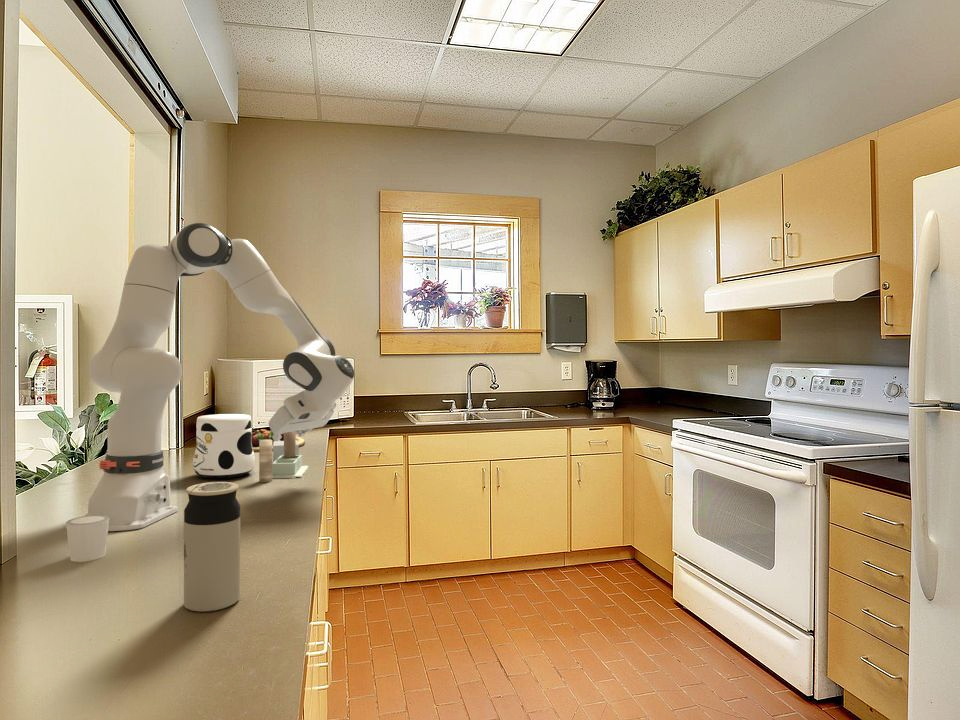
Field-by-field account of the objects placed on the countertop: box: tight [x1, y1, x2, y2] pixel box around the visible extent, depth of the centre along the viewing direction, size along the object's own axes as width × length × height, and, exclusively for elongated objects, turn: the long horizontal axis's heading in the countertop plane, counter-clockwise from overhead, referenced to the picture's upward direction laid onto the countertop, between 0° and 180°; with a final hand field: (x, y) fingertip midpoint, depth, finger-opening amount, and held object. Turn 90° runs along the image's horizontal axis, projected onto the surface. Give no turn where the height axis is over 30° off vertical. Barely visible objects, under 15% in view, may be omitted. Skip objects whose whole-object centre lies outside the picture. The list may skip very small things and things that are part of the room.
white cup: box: [65, 515, 109, 563], centre depth 116 cm, size 7×7×7 cm
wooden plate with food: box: [251, 429, 306, 453], centre depth 247 cm, size 32×32×8 cm
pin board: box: [272, 431, 310, 479], centre depth 195 cm, size 16×11×13 cm
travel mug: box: [183, 481, 241, 613], centre depth 96 cm, size 8×8×18 cm
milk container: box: [192, 413, 256, 479], centre depth 189 cm, size 17×17×18 cm
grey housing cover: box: [272, 440, 300, 463], centre depth 209 cm, size 10×8×7 cm
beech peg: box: [258, 439, 273, 483], centre depth 182 cm, size 4×4×12 cm
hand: (287, 436), depth 178 cm, fingers open, 8 cm apart
